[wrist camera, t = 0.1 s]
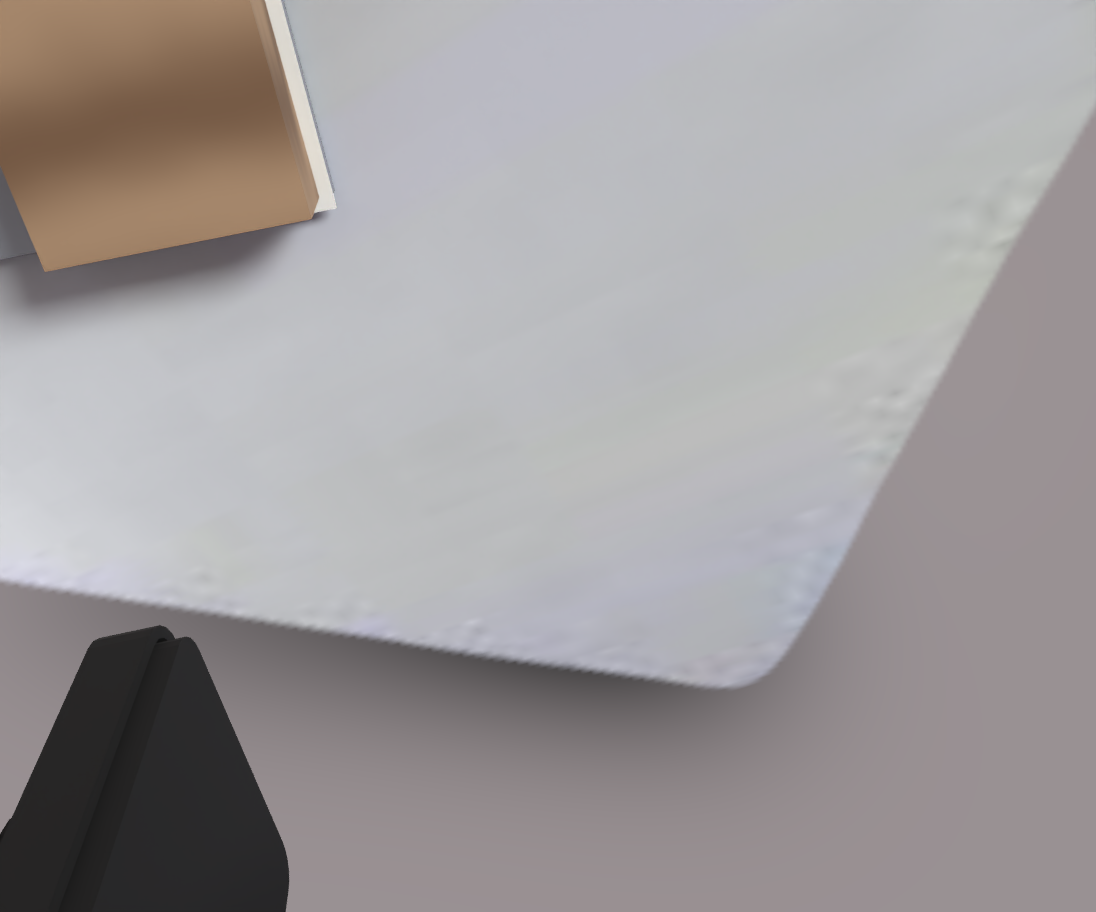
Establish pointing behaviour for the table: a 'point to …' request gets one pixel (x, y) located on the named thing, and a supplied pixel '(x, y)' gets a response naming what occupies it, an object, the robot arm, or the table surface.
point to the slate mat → (9, 237)
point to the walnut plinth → (146, 125)
